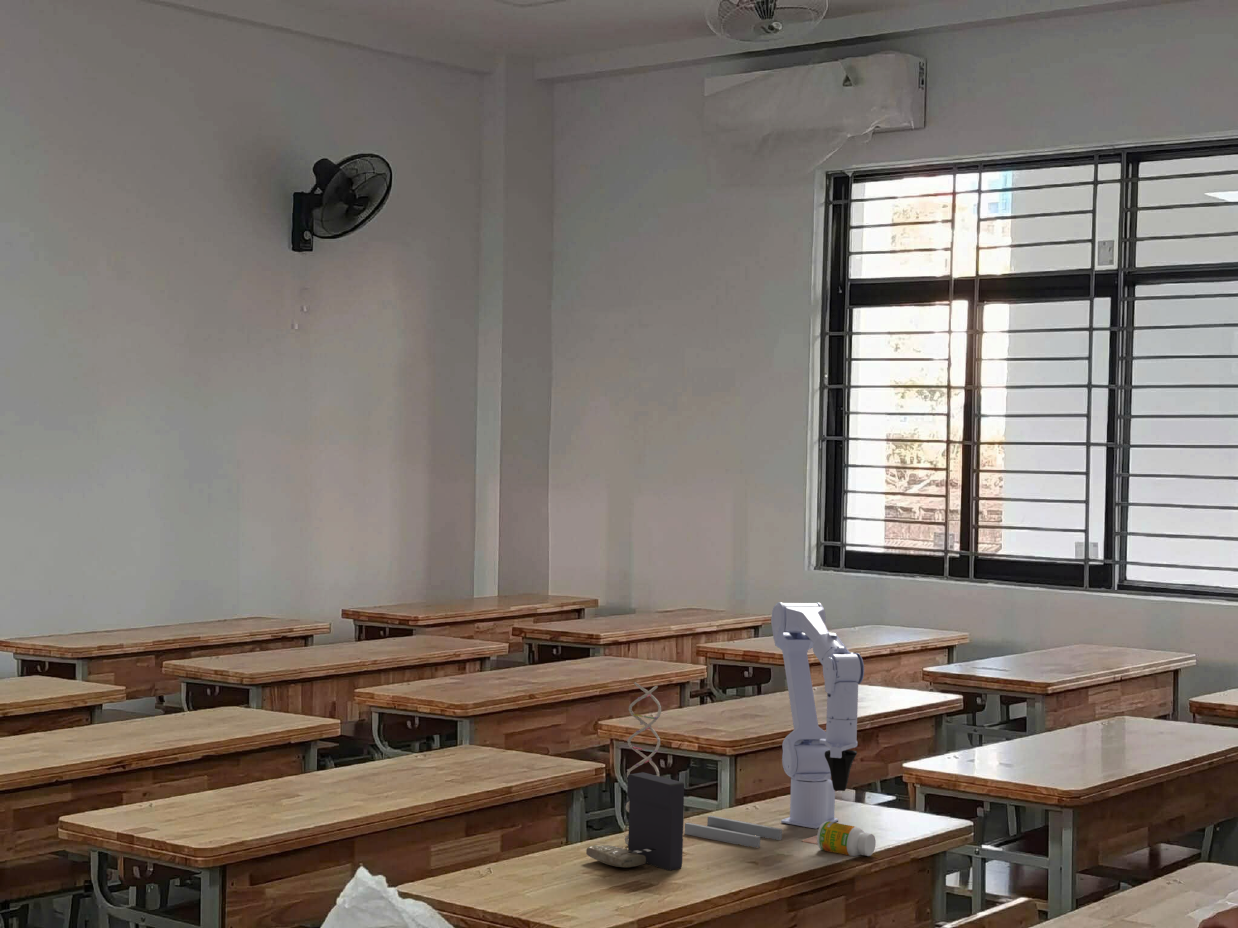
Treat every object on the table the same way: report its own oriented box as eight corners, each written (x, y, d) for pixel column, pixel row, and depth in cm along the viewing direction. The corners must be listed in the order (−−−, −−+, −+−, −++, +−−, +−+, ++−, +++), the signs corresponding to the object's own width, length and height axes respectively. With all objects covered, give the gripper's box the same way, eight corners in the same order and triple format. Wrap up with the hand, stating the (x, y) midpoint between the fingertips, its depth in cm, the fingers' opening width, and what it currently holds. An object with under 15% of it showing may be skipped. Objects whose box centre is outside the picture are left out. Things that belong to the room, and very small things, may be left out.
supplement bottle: (815, 824, 283) (862, 833, 277) (831, 817, 287) (877, 826, 281) (816, 853, 284) (863, 863, 278) (831, 845, 288) (878, 855, 282)
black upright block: (685, 867, 270) (687, 781, 270) (667, 871, 267) (669, 784, 267) (642, 854, 278) (645, 771, 278) (624, 858, 276) (627, 773, 275)
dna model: (665, 848, 283) (670, 683, 283) (642, 854, 279) (647, 687, 278) (638, 841, 288) (643, 679, 288) (615, 847, 283) (620, 682, 283)
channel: (710, 825, 302) (710, 815, 302) (781, 839, 293) (782, 828, 293) (684, 833, 295) (684, 823, 295) (757, 848, 286) (757, 837, 286)
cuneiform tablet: (631, 852, 264) (586, 838, 273) (630, 875, 264) (584, 859, 273) (656, 849, 268) (610, 834, 277) (655, 871, 268) (609, 856, 277)
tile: (827, 832, 299) (827, 830, 299) (874, 841, 293) (874, 839, 293) (801, 842, 291) (801, 840, 291) (849, 851, 285) (849, 849, 285)
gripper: (826, 710, 300) (824, 780, 300) (814, 721, 286) (812, 795, 286) (862, 712, 298) (860, 783, 298) (853, 724, 284) (851, 798, 284)
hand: (839, 789), depth 292 cm, fingers closed
